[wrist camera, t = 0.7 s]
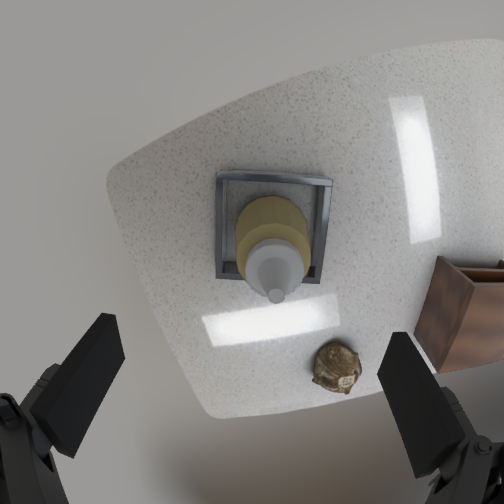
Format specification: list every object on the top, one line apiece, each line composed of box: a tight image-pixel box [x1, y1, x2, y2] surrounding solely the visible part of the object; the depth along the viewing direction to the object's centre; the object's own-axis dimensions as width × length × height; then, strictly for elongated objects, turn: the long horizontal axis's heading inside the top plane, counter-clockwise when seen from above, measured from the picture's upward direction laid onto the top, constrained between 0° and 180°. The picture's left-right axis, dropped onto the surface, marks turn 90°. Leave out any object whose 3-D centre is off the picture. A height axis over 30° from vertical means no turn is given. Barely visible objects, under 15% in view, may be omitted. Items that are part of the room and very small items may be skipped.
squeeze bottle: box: [235, 196, 311, 304], centre depth 28 cm, size 8×8×18 cm
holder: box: [215, 169, 333, 284], centre depth 35 cm, size 13×13×4 cm
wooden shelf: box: [414, 256, 504, 374], centre depth 35 cm, size 14×16×10 cm
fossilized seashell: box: [312, 343, 362, 394], centre depth 42 cm, size 8×7×10 cm
